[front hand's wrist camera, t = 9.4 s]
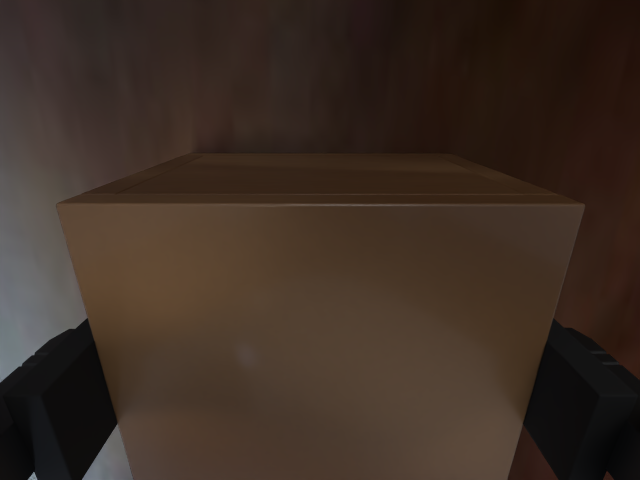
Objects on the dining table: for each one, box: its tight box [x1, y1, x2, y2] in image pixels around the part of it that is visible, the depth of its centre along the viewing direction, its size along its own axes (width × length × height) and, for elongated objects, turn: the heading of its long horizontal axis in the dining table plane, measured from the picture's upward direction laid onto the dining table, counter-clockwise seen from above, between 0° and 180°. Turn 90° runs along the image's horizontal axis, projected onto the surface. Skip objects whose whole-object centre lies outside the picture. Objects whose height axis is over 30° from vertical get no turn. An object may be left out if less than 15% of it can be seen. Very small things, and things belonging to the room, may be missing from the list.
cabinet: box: [56, 153, 585, 480], centre depth 14 cm, size 19×11×8 cm, turn 0°
